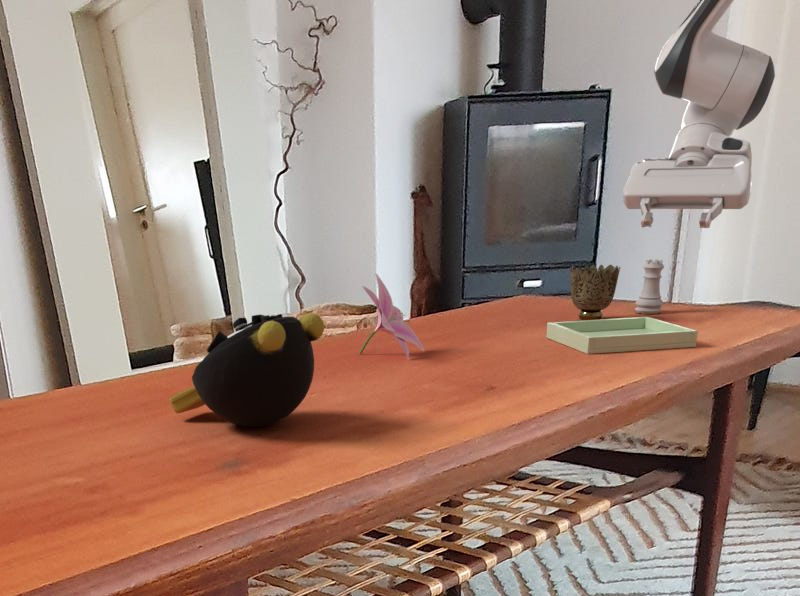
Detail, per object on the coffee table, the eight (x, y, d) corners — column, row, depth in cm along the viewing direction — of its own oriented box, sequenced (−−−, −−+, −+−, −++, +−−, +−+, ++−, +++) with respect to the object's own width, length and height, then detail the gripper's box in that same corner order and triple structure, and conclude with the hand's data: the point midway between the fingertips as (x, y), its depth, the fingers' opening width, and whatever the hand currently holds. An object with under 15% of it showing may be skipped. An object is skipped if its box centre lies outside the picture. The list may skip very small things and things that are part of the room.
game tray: (646, 331, 142) (647, 316, 141) (695, 347, 130) (698, 330, 129) (546, 337, 139) (547, 322, 138) (587, 354, 127) (588, 337, 126)
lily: (370, 374, 124) (408, 306, 120) (313, 329, 129) (348, 262, 125) (421, 388, 133) (458, 325, 129) (366, 345, 139) (400, 283, 134)
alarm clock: (263, 439, 107) (318, 308, 102) (288, 480, 95) (351, 334, 89) (163, 400, 103) (214, 262, 98) (174, 438, 90) (234, 282, 85)
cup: (563, 316, 156) (567, 264, 153) (610, 316, 156) (615, 263, 152) (569, 324, 150) (573, 269, 146) (618, 323, 149) (623, 268, 145)
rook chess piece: (629, 313, 158) (634, 260, 155) (641, 309, 161) (647, 258, 157) (654, 315, 155) (661, 262, 152) (667, 311, 158) (674, 259, 155)
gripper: (632, 145, 166) (609, 211, 163) (760, 141, 156) (738, 211, 153) (637, 173, 171) (614, 237, 168) (760, 171, 161) (738, 239, 158)
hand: (674, 225), depth 160 cm, fingers open, 8 cm apart
